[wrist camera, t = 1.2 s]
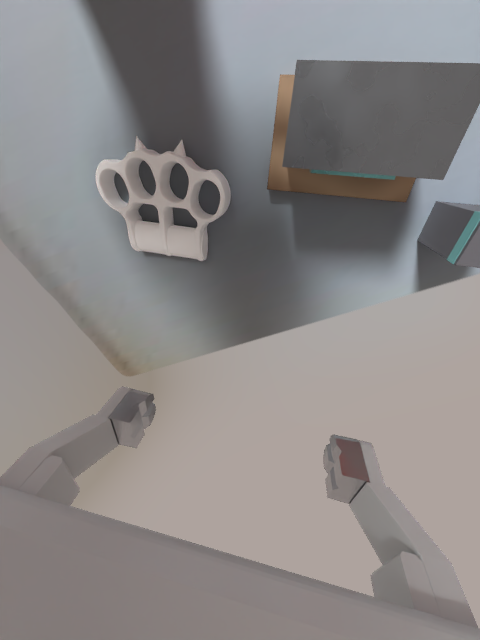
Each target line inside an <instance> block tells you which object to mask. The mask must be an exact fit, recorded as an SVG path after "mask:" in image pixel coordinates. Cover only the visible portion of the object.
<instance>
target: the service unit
mask: <svg viewBox="0 0 480 640" xmlns="http://www.w3.org/2000/svg"><path fill="white" fill-rule="evenodd" d="M479 104H480V64H478V63H426V62H373V61H320V60H297V63H296V71H295V78H294V85H293V92H292V99H291V107H290V114H289V121H288V128H287V135H286V142H285V150H284V157H283V164H282V167H288V168H301V169H309V172H310V173H317V174H329V175H341V176H353V177H365V178H378V179H390V180H395V177H396V176H401V177H413V178H426V179H438V180H443V179H444V177H445V175H446V173H447V171H448V169H449V166H450V164H451V162H452V160H453V158H454V156H455V154H456V152H457V150H458V148H459V146H460V143H461V141H462V139H463V137H464V135H465V133H466V131H467V129H468V127H469V125H470V122H471V120H472V118H473V116H474V114H475V112H476V110H477V108H478V106H479Z"/></svg>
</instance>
